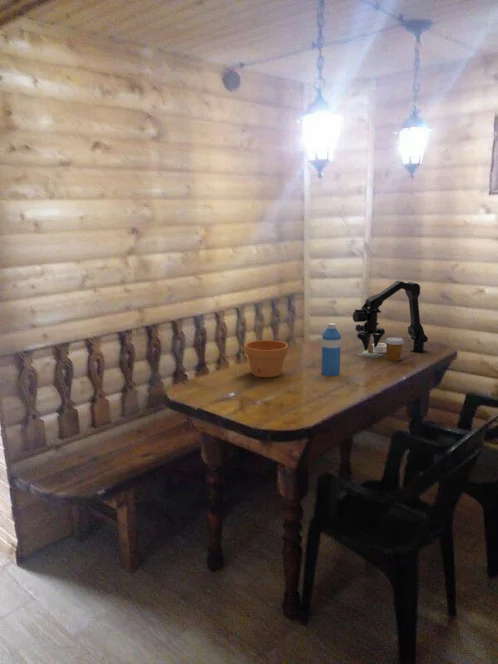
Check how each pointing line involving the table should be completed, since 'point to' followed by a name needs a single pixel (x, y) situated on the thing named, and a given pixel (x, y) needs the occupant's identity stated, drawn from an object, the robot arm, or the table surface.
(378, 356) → the coaster
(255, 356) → the flower pot
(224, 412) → the table surface
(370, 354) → the lid
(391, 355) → the disposable coffee cup
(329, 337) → the water bottle
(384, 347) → the bowl
